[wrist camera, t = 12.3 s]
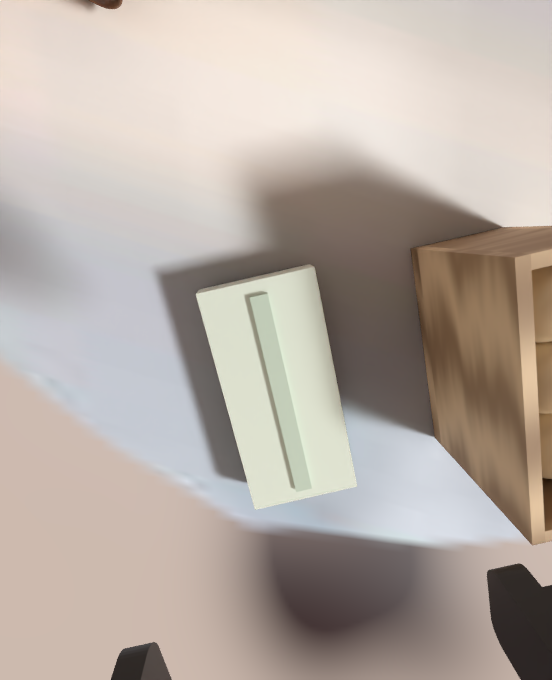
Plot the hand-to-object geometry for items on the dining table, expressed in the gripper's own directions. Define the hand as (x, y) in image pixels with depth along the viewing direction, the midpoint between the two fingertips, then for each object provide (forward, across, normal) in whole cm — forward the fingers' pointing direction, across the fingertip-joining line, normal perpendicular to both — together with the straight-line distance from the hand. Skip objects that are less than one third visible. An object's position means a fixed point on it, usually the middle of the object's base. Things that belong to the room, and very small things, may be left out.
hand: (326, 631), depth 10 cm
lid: (+16, 0, 0) cm, 17 cm away
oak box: (+17, -12, 0) cm, 21 cm away
